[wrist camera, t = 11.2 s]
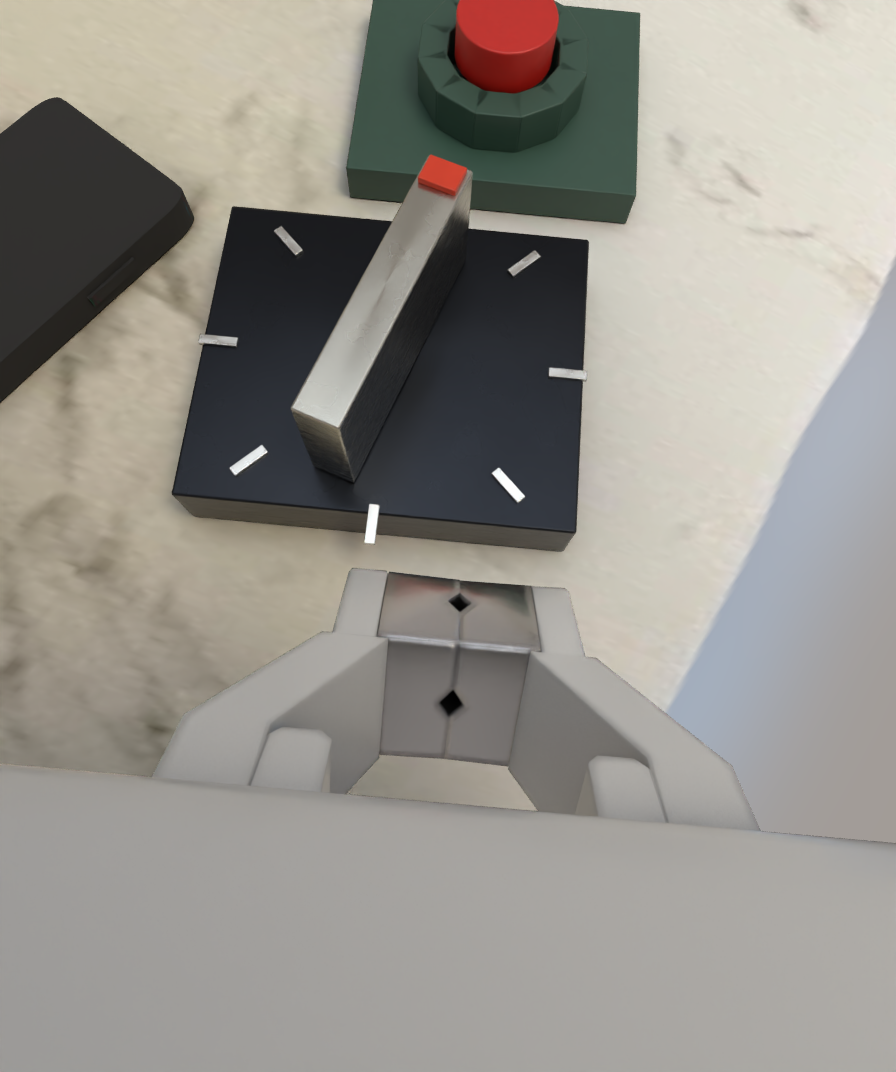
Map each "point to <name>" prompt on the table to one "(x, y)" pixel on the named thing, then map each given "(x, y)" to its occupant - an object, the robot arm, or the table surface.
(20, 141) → the smart home device
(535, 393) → the control panel
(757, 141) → the table surface
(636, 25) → the button box
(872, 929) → the robot arm
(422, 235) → the knob
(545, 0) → the button
